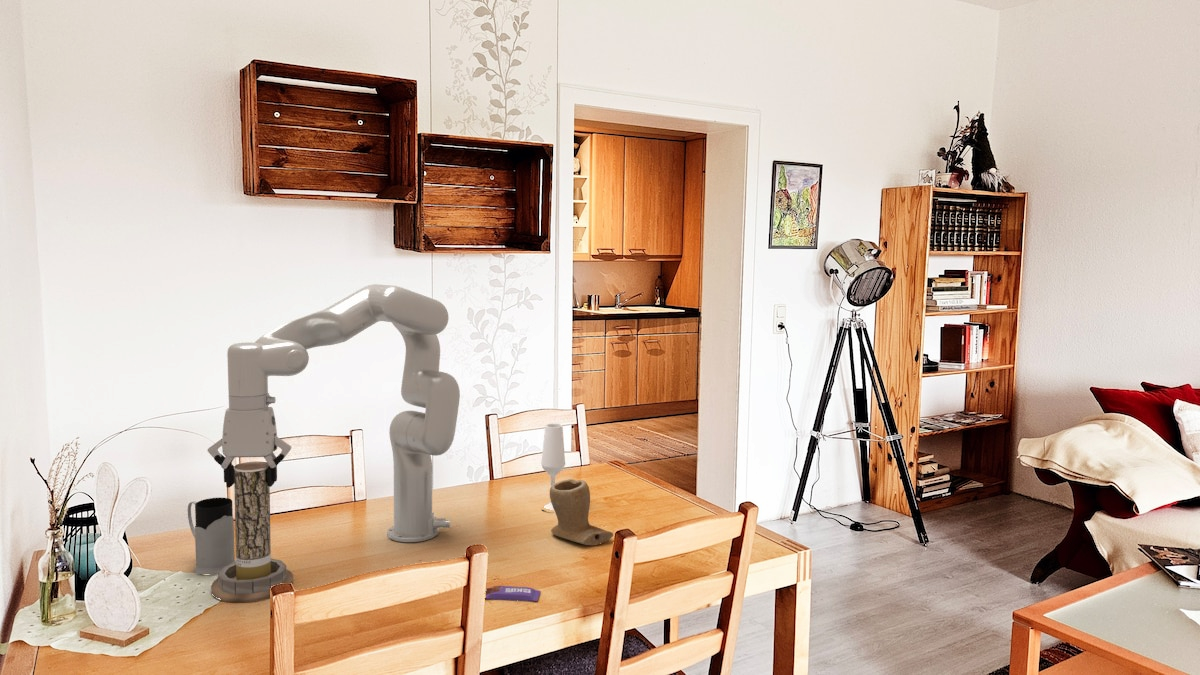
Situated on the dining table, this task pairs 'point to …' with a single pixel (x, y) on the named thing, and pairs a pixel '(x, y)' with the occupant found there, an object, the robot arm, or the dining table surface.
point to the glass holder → (213, 534)
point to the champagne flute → (553, 453)
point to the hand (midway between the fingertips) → (250, 484)
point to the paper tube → (252, 521)
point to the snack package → (512, 593)
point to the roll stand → (248, 584)
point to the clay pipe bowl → (575, 513)
